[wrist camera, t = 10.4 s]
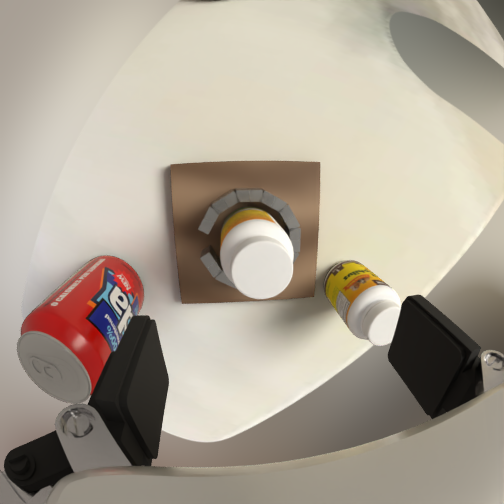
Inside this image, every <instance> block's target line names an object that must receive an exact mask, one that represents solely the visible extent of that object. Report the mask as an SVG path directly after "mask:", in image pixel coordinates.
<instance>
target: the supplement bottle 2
mask: <svg viewBox="0 0 504 504" xmlns="http://www.w3.org/2000/svg"><path fill="white" fill-rule="evenodd" d="M324 292H325V295H326V297H327V299H328V300H329V301H330V303H331V304H332V306H333V307H334V308H335V310H336V311H337V313H338V314H339V315H340V317H341V318H342V320H343V321H344V322H345V324H346V325H347V327H348V328H349V330H350V331H351V332H352V333H353V334H354V335H355V336H356V337H358V338H360V339H365V340H369V341H370V342H371V343H372V344H373V345H377V346H382V345H386V344H389V343H390V342H392V339H393V336H394V332H395V329H396V325H397V322H398V318H399V314H400V310H401V307H400V299H399V296H398V294H397V293H396V292H395V291H394V290H393V289H392V288H391V287H390V286H389V285H387V284H386V283H385V282H384V281H382V280H381V279H380V278H379V277H377V276H376V275H375V274H374V273H373V272H371V271H370V270H369V269H368V268H366V267H365V266H364V265H362V264H361V263H359V262H357V261H354V260H346V261H342V262H340V263H338V264H336V265H335V266H334V267H333V268H332V269H331V270H330V271H329V272H328V274H327V276H326V278H325V282H324Z"/></svg>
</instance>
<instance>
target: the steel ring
mask: <svg viewBox="0 0 504 504" xmlns="http://www.w3.org/2000/svg"><path fill="white" fill-rule="evenodd" d="M238 202H262V203H264V204H266V205H268V206H269V207H271V208H273V209H275V210H276V211H277V213H278V215H279V216H280V218H281V220H282V222H283V223H284V231H285V232H286V234H287V235H288V237H289V239H290V241H291V243H292V246H293V251H294V258H293V264H294V262H295V260H296V259H297V257H298V255H299V253H298V252H300V239H301V228H300V224H299V223H298V221H297V219H296V217H295V215H294V214H293V212H292V210H291V208H290V206H289V205H288V204H287V203H286V202H284V201H283V200H281V199H279V198H278V197H276V196H274V195H272V194H271V193H269V192H267V191H265V190H263V189H262V188H261V189H260V188H235V191H234V190H233V189H232V190H230V191H229V192H227V193H225V194H224V195H222V196H221V197H219V198H217V199H216V200H214V201H213V202H212V203H211V204H210V206H209V208H208V210H207V212H206V214H205V216H204V218H203V219H202V221H201V223H200V226H199V228H198V230H200V231H202V232H204V233H206V234H209V232H210V231H211V229H212V227H213V225H214V223H215V221H216V219H217V217H218V216H219V214H220V213H222V212H223V211H225V210H226V209H228V208H230V207H231V206H233V205H235V204H236V203H238ZM200 259H201V260H202V262H203V263H204V265H205V266H206V268H207V269H208V270H209V272H210V273H211V275H212V276H213V278H214V277H215V279H216V280H218V281H220V282H222V283H224V284H227V285H229V286H231V287H233V288H235V289H237V288H236V286H235V285H234V284H233V283H232V282H231V281H230V280H229V279H228V278H227V276H226V275H225V273H224V271H223V268H222V265H221V260H220V258H219V257H218V255H217V254H216V252H215V251H214V249H213V248H212V246H211V245H209V246H208V247H206V248H205V249H203V250H202V252H201V256H200Z"/></svg>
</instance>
